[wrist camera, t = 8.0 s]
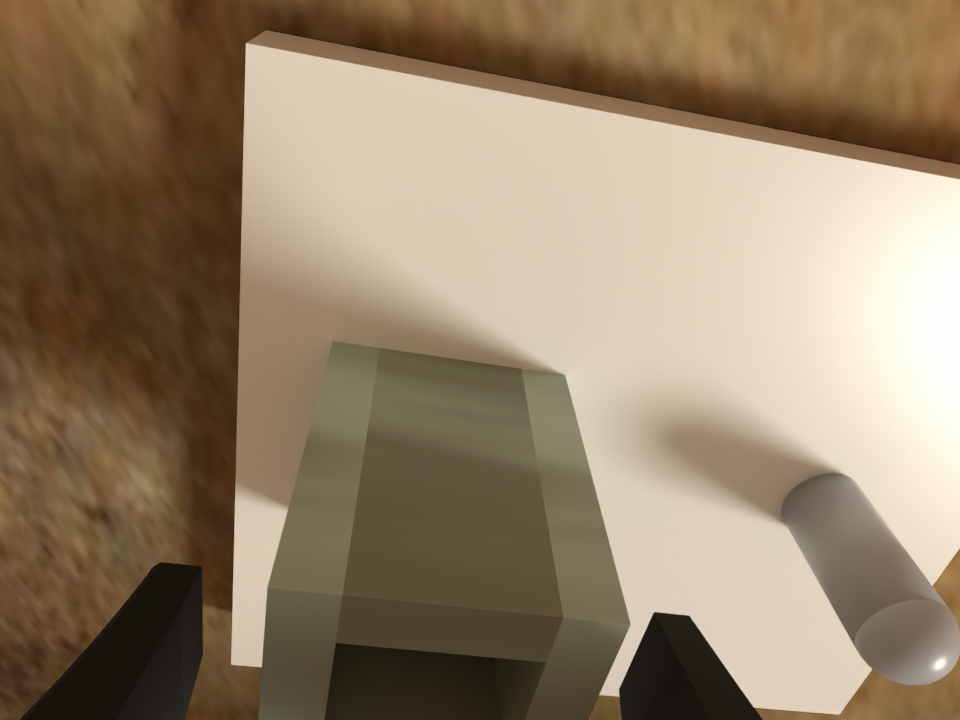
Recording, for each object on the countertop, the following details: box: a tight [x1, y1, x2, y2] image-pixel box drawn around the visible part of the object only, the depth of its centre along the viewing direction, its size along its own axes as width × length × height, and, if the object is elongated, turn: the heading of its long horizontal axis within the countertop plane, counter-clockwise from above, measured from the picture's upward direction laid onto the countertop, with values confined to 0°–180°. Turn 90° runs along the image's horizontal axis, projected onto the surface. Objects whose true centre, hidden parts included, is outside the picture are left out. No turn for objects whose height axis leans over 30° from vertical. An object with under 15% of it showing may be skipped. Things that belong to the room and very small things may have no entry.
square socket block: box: [258, 341, 631, 720], centre depth 13 cm, size 5×5×6 cm
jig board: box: [231, 30, 960, 714], centre depth 15 cm, size 15×17×6 cm
